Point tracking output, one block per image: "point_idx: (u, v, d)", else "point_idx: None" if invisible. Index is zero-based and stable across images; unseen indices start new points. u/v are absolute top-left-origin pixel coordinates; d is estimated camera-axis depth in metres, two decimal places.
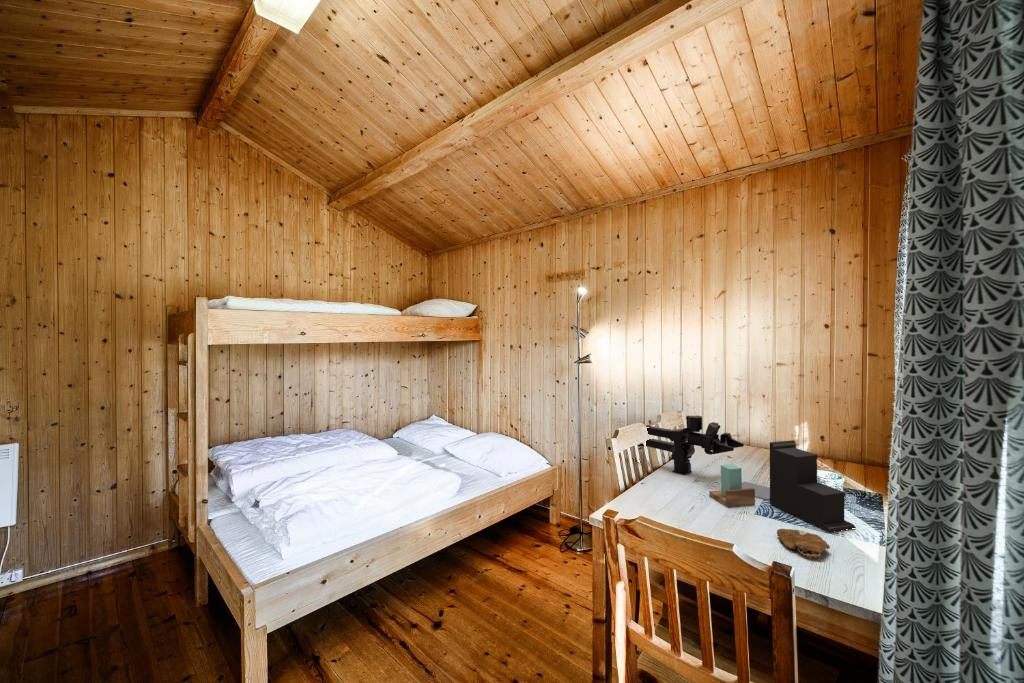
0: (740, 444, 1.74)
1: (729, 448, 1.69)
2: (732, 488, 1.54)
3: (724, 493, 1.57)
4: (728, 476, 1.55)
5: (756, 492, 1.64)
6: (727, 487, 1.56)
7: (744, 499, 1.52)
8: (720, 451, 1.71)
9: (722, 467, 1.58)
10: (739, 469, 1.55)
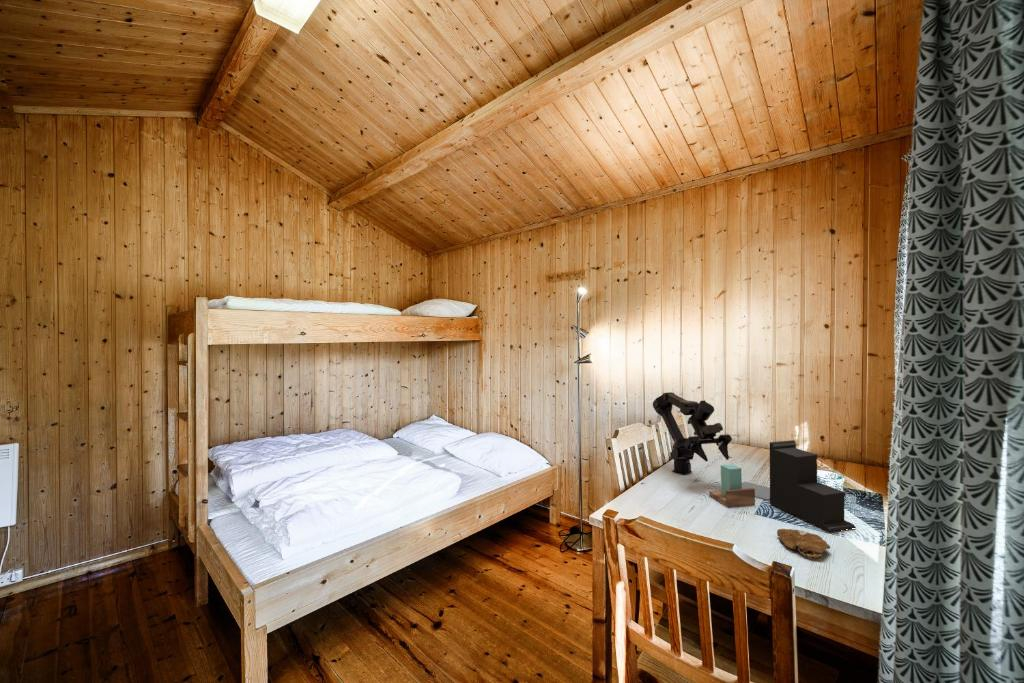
0: (726, 456, 1.66)
1: (704, 457, 1.65)
2: (732, 488, 1.54)
3: (724, 493, 1.57)
4: (728, 476, 1.55)
5: (756, 492, 1.64)
6: (727, 487, 1.56)
7: (744, 499, 1.52)
8: (696, 452, 1.68)
9: (722, 467, 1.58)
10: (739, 469, 1.55)
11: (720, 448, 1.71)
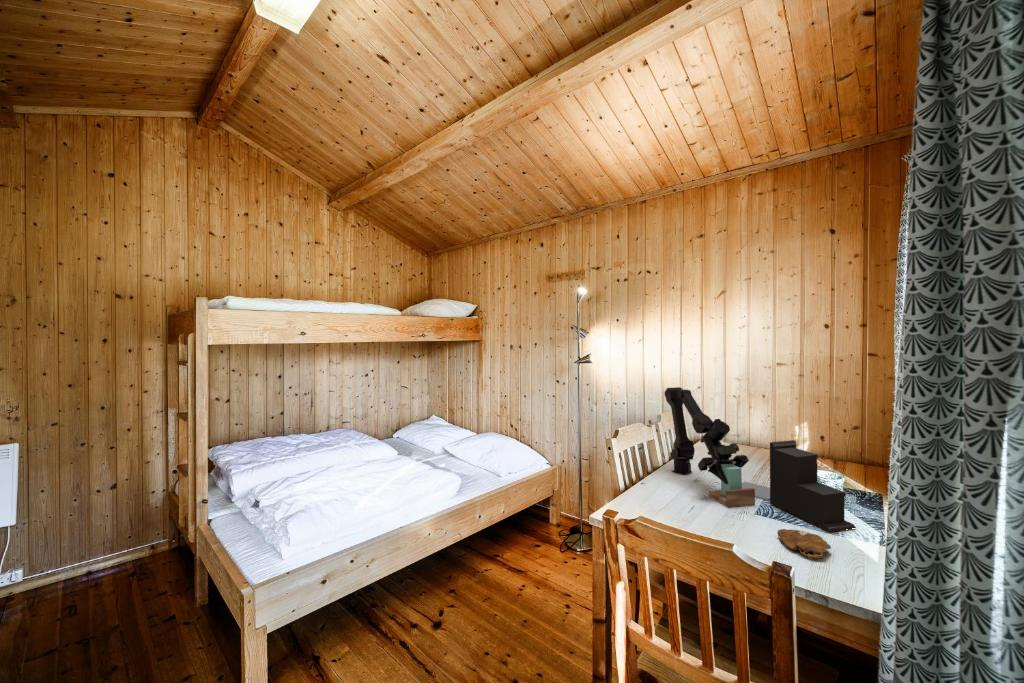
0: None
1: (724, 480, 1.56)
2: (732, 488, 1.54)
3: (724, 493, 1.57)
4: (728, 476, 1.55)
5: (756, 492, 1.64)
6: (727, 487, 1.56)
7: (744, 499, 1.52)
8: (716, 474, 1.59)
9: (722, 467, 1.58)
10: (739, 469, 1.55)
11: None
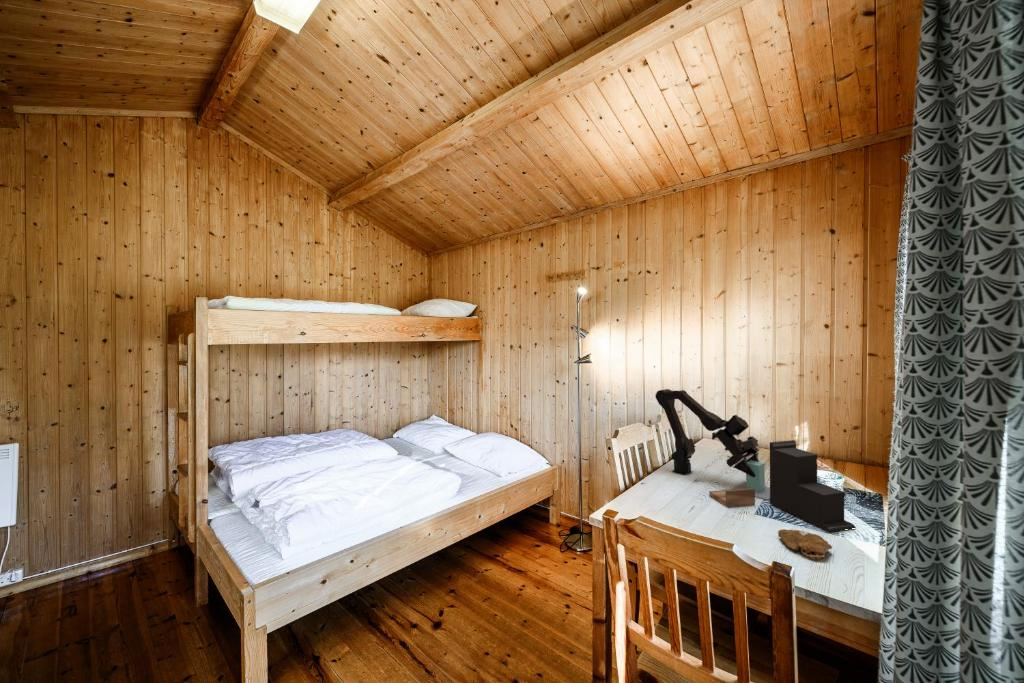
0: None
1: (751, 473, 1.63)
2: (760, 483, 1.63)
3: None
4: (758, 472, 1.63)
5: (756, 492, 1.64)
6: (756, 482, 1.64)
7: (744, 499, 1.52)
8: (741, 469, 1.65)
9: (748, 464, 1.66)
10: (763, 464, 1.65)
11: None
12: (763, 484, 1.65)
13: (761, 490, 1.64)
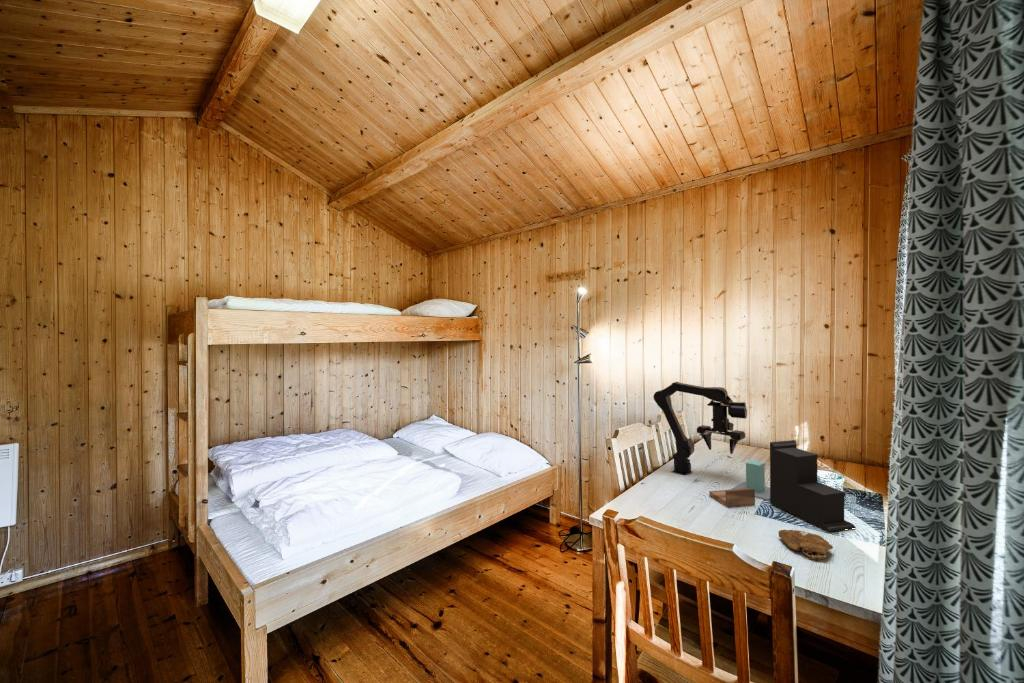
0: (710, 447, 1.84)
1: (733, 450, 1.77)
2: (760, 483, 1.63)
3: None
4: (758, 472, 1.63)
5: (756, 492, 1.64)
6: (756, 482, 1.64)
7: (744, 499, 1.52)
8: (733, 444, 1.75)
9: (748, 464, 1.66)
10: (763, 464, 1.65)
11: (707, 437, 1.84)
12: (763, 484, 1.65)
13: (761, 490, 1.64)
